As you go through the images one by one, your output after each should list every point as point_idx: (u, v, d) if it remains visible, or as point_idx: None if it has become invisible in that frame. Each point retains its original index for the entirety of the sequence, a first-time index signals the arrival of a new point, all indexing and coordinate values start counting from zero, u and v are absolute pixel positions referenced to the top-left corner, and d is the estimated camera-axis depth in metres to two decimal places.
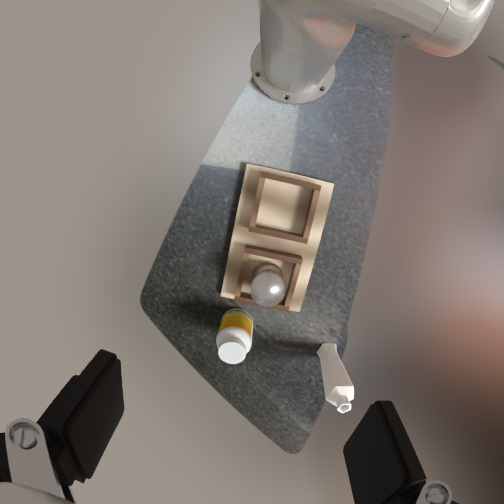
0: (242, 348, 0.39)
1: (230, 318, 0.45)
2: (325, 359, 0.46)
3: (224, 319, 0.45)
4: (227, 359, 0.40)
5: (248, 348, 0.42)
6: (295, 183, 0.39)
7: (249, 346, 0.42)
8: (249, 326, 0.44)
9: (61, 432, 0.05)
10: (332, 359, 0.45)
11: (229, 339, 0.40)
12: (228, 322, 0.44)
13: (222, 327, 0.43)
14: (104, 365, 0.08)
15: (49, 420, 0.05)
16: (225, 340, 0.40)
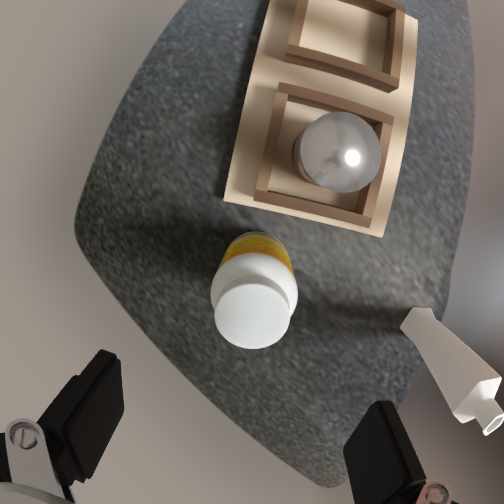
0: (282, 303, 0.15)
1: (244, 242, 0.20)
2: (427, 335, 0.21)
3: (230, 248, 0.21)
4: (239, 336, 0.15)
5: (291, 309, 0.17)
6: None
7: (293, 304, 0.17)
8: (288, 261, 0.20)
9: (61, 432, 0.05)
10: (441, 332, 0.20)
11: (247, 279, 0.15)
12: (239, 248, 0.19)
13: (226, 259, 0.18)
14: (104, 365, 0.08)
15: (49, 420, 0.05)
16: (235, 282, 0.15)
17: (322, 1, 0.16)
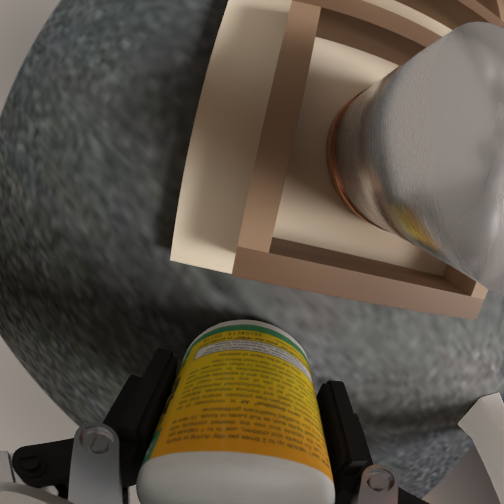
0: None
1: (212, 373, 0.08)
2: (499, 444, 0.09)
3: (185, 375, 0.08)
4: None
5: None
6: None
7: None
8: (315, 412, 0.08)
9: (136, 431, 0.06)
10: None
11: None
12: (198, 406, 0.07)
13: (164, 434, 0.06)
14: (166, 363, 0.09)
15: (123, 421, 0.06)
16: None
17: None
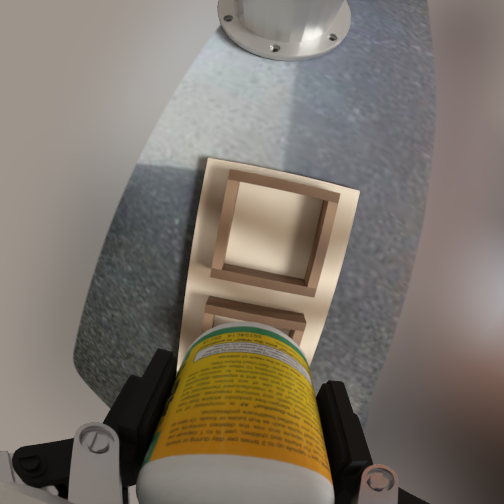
0: None
1: (212, 376, 0.08)
2: None
3: (184, 377, 0.08)
4: None
5: None
6: (293, 189, 0.22)
7: None
8: (314, 415, 0.07)
9: (136, 431, 0.06)
10: None
11: None
12: (197, 408, 0.07)
13: (164, 436, 0.06)
14: (166, 363, 0.09)
15: (123, 421, 0.06)
16: None
17: (252, 192, 0.24)
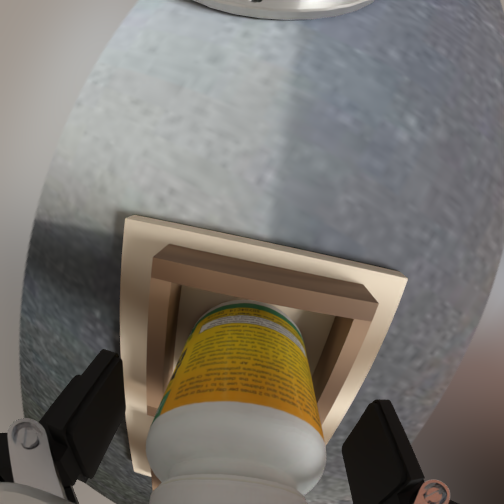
0: None
1: (216, 342, 0.09)
2: None
3: (191, 346, 0.10)
4: None
5: (310, 488, 0.06)
6: (284, 301, 0.10)
7: (316, 481, 0.06)
8: (307, 378, 0.09)
9: (64, 432, 0.05)
10: None
11: (208, 503, 0.04)
12: (203, 367, 0.08)
13: (173, 393, 0.07)
14: (106, 365, 0.08)
15: (52, 420, 0.05)
16: (179, 497, 0.04)
17: None
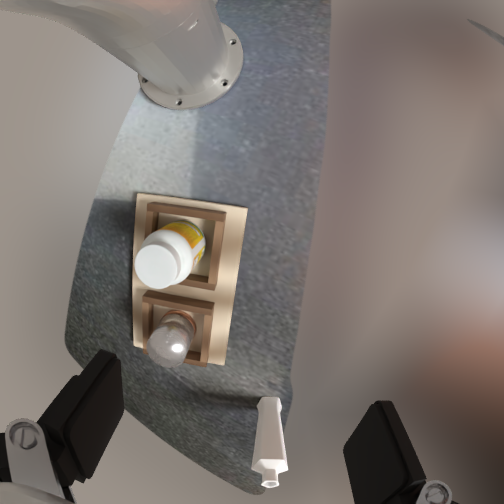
0: (170, 256, 0.23)
1: None
2: (261, 418, 0.36)
3: None
4: (150, 280, 0.24)
5: (187, 265, 0.26)
6: (189, 214, 0.30)
7: (188, 261, 0.26)
8: (193, 236, 0.29)
9: (61, 432, 0.05)
10: (268, 419, 0.35)
11: (151, 243, 0.24)
12: None
13: None
14: (104, 365, 0.08)
15: (49, 420, 0.05)
16: (145, 245, 0.24)
17: (168, 216, 0.32)
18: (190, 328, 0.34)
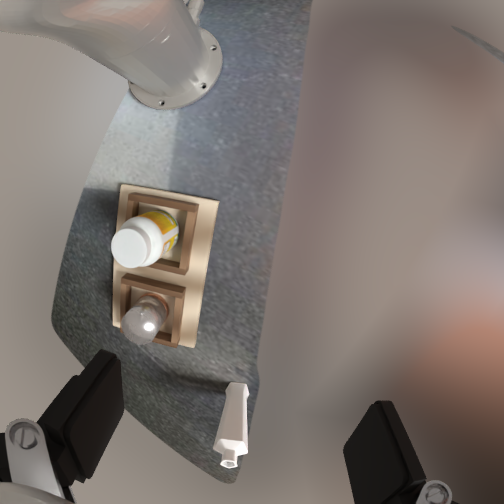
0: (141, 239, 0.26)
1: None
2: (227, 402, 0.39)
3: None
4: (123, 260, 0.27)
5: (157, 248, 0.28)
6: (165, 205, 0.33)
7: (158, 245, 0.29)
8: (166, 224, 0.31)
9: (61, 432, 0.05)
10: (233, 403, 0.38)
11: (126, 227, 0.26)
12: None
13: None
14: (104, 365, 0.08)
15: (49, 420, 0.05)
16: None
17: (147, 205, 0.35)
18: (162, 310, 0.36)
